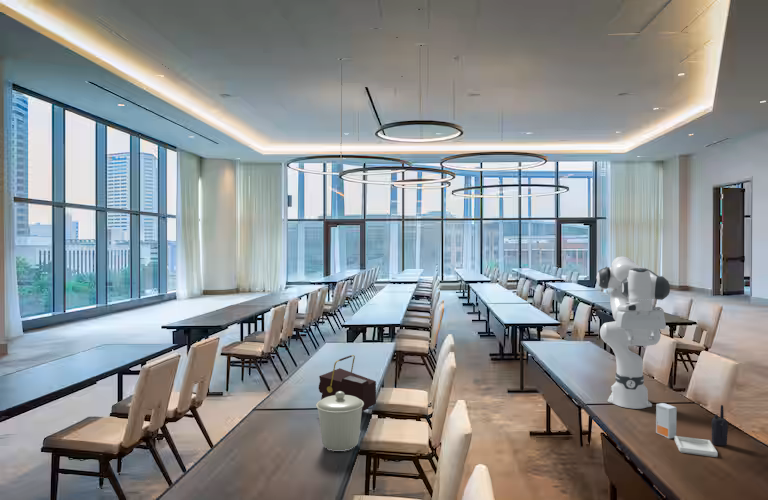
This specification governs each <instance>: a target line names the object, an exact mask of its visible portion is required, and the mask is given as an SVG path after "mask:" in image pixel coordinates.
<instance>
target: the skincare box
mask: <svg viewBox="0 0 768 500" xmlns="http://www.w3.org/2000/svg"><path fill="white" fill-rule="evenodd" d="M655 406H656V407H655V409H656V411H655V416H656V417H655V433H656V434H658V435H660V436H662V437H665V438H667V439H669V440H670V439H674V436H677V412H678V411H677V407H676V406H673V405H671V404H667V403H665V402H660V403H656V405H655Z"/></svg>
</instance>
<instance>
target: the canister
mask: <svg viewBox="0 0 768 500" xmlns="http://www.w3.org/2000/svg"><path fill="white" fill-rule="evenodd" d="M363 406H364V402H363V401H362V400H361V399H359V398H357V397H355V396H351V395H345V394H344V392H342V391H338V392H337V393H336V394H335V395H333V396H328V397H326V398H323V399H322V400H321V399H320V400H319V401H317V403H316V404H315V407H316V408H317V411H318V412H317V413H318V421H319V429H320V435H321V441H322V445H323V447H324V446H325V447H326V448H328V449H332V450H345V449H350V448H352V447H354V448H356V447H357V445H358V443H359V440H360V431H361V423H362V422H361V421H362V414H363V412H362V407H363ZM355 446H356V447H355ZM325 447H324V448H325ZM326 448H325V449H326ZM328 449H327V450H328Z"/></svg>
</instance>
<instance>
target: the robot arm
mask: <svg viewBox="0 0 768 500" xmlns="http://www.w3.org/2000/svg"><path fill="white" fill-rule="evenodd" d="M596 282H597V284H598V287H600V288H602V289H604V290H605V289H613V290H612V291H611V292H610V298H609V299H610V301H609V303H610V308H611V313H612V318H613V320H614V321H609V322H608V321H607V322H604V323H603V324H602V325H601V326H600V329H599V335H600V338H601V340H602V341H603V342H604V343H605V344H607V346H609V347H610V348H611V349H612V351H613V353H614V356H615V360H616V361H615V363H616V372H615V375H614V377H615V382H614V383H613V384H612V385H611V386H610V391H612V392H610V393H611V394H610V395H609V397H608V399H607V402H608V403H609V404H613V405H616V406H618V407H622V408H626V409H634V410H635V409H637V410H641V409H645V408H652V407H653V403H651V402H650V401H649V400H648V399H649V398H648V397H649V395H648V393H649V391H648V388H647V387H646V386H645V383H644V382H645V377H644V373H643V370H644V367H643V366H644V364H643V362H644V361H643V359H642V356H640V355H639V354H637V353H635V352H633V351H631V350H630V349H629V346H635V347H637V346H638V347H647V346H655V345H657V344H658V343H659V342H660V339H661V330H665V328H666V327H667V326H666V318H665V310H664V309H663V308H662V307H660V306H653V300H660V301H663V300H664V299H666V298H667V297H668V296H669V295H670V292H671V291H670V290H671V289H670V287H671V286H670V283H669V280H668V279H667V278H665V277H664V275H663V276H662V275H661V276H660V275H658V274H657V273H655V272H654V271H652V270H651V269H648V268H646V267H643V266H641V265H639V264H637V263H635V262H634V261H633V259H631V258H629V257H628V256H623V255H622V256H617V257H615V258H614V259H613V260H612V262H611V267H610V266H609V267H608V266H605V267H604V268H601V269H599V270H598V272H597V275H596Z"/></svg>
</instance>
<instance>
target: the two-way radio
mask: <svg viewBox="0 0 768 500" xmlns="http://www.w3.org/2000/svg"><path fill="white" fill-rule="evenodd" d="M719 415H720V417H719ZM719 415H718V414H714V417H712V419H711V443H712V445H713V446H714V445H715V446H727V445H728V431H729V430H728V429H729V427H728V426H729V425H728V420H727V419H726V418H724V417H725V415H724V405H723V404H720V414H719Z"/></svg>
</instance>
